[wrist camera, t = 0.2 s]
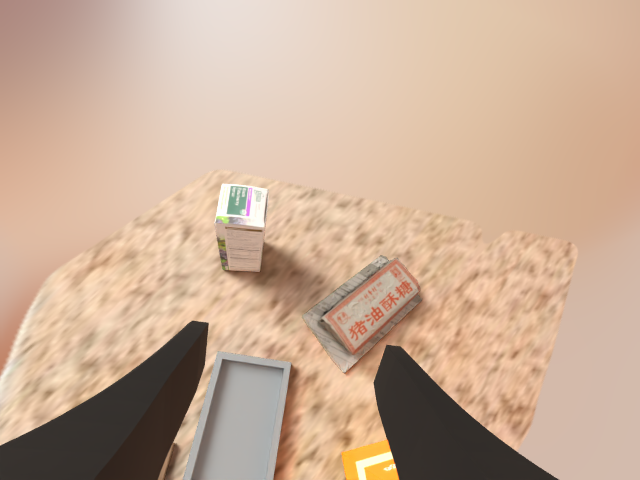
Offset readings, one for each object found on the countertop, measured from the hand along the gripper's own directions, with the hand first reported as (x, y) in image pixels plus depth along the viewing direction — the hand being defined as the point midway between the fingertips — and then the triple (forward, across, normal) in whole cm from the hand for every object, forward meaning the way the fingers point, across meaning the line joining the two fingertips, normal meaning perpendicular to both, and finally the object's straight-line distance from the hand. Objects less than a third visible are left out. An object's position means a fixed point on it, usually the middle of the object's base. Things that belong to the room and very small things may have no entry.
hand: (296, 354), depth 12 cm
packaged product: (+30, -14, +16) cm, 37 cm away
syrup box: (+34, +6, +12) cm, 37 cm away
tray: (+17, +2, +27) cm, 32 cm away
